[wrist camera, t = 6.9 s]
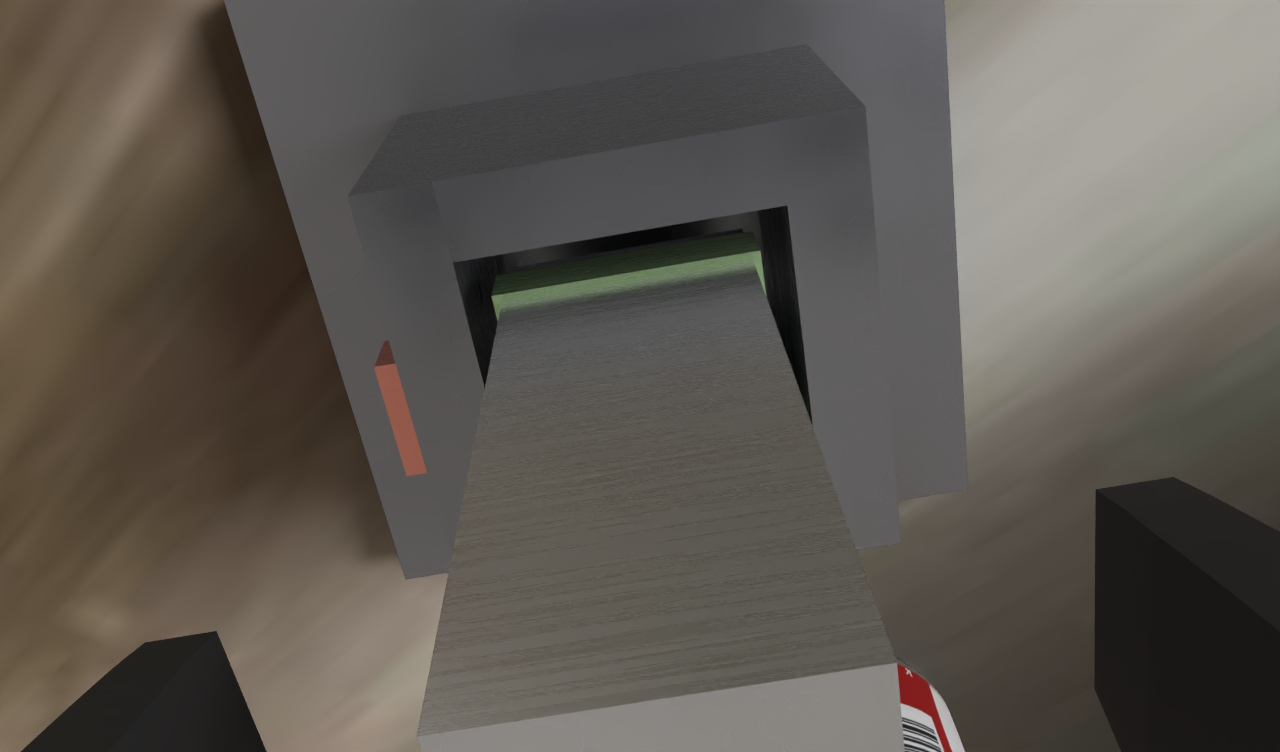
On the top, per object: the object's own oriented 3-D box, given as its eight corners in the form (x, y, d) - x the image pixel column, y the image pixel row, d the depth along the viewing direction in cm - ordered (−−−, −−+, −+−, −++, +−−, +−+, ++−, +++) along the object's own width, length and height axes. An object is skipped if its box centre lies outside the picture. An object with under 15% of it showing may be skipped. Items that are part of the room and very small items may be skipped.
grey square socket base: (919, -134, 17) (1040, -116, 12) (952, 460, 21) (1050, 636, 16) (243, -10, 17) (115, 51, 12) (413, 547, 21) (365, 742, 17)
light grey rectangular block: (749, 219, 14) (912, 646, 7) (777, 439, 16) (939, 991, 8) (498, 262, 15) (397, 727, 7) (549, 476, 16) (507, 1052, 8)
